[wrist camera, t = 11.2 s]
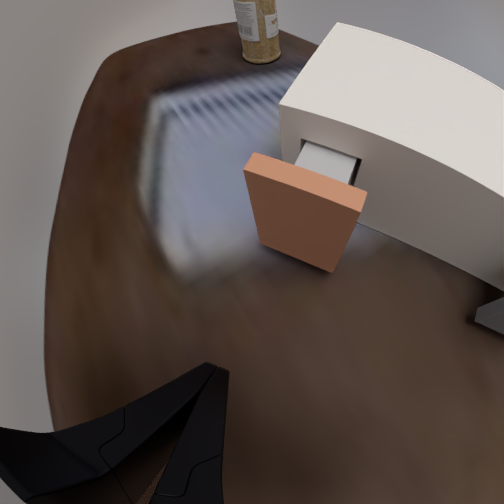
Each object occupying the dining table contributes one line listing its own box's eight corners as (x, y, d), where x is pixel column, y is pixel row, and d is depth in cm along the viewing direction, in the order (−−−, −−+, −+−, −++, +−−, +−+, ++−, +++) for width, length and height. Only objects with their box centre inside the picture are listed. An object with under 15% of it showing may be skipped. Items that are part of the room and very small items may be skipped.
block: (517, 299, 17) (590, 263, 8) (283, 193, 22) (278, 103, 14) (520, 189, 20) (566, 137, 12) (330, 100, 26) (337, 22, 17)
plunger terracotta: (332, 273, 18) (360, 212, 11) (260, 243, 19) (243, 169, 12) (383, 126, 22) (404, 51, 15) (328, 107, 23) (335, 30, 16)
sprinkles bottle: (287, 59, 29) (280, -44, 16) (251, 69, 29) (233, -37, 16) (270, 43, 30) (260, -49, 18) (236, 52, 30) (218, -42, 18)
